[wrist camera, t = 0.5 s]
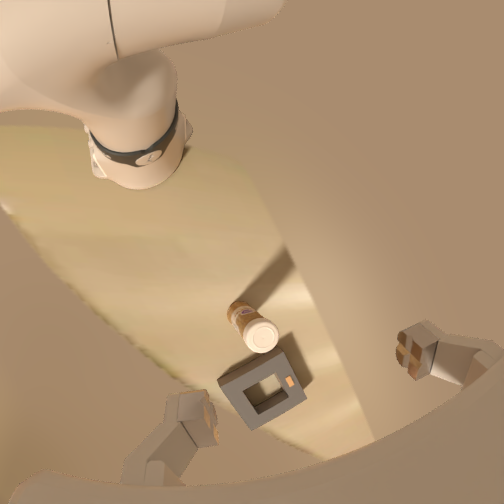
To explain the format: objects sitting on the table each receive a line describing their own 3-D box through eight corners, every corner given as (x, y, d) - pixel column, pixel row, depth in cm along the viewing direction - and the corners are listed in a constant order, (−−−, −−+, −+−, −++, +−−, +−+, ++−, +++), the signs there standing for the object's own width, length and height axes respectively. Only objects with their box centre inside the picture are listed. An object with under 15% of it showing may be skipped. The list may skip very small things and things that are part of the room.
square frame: (217, 379, 46) (220, 387, 43) (277, 346, 49) (283, 352, 46) (247, 422, 48) (251, 431, 45) (300, 392, 51) (307, 398, 48)
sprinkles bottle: (244, 296, 47) (271, 314, 34) (255, 318, 48) (285, 342, 35) (221, 309, 46) (240, 332, 33) (233, 330, 46) (256, 360, 34)
